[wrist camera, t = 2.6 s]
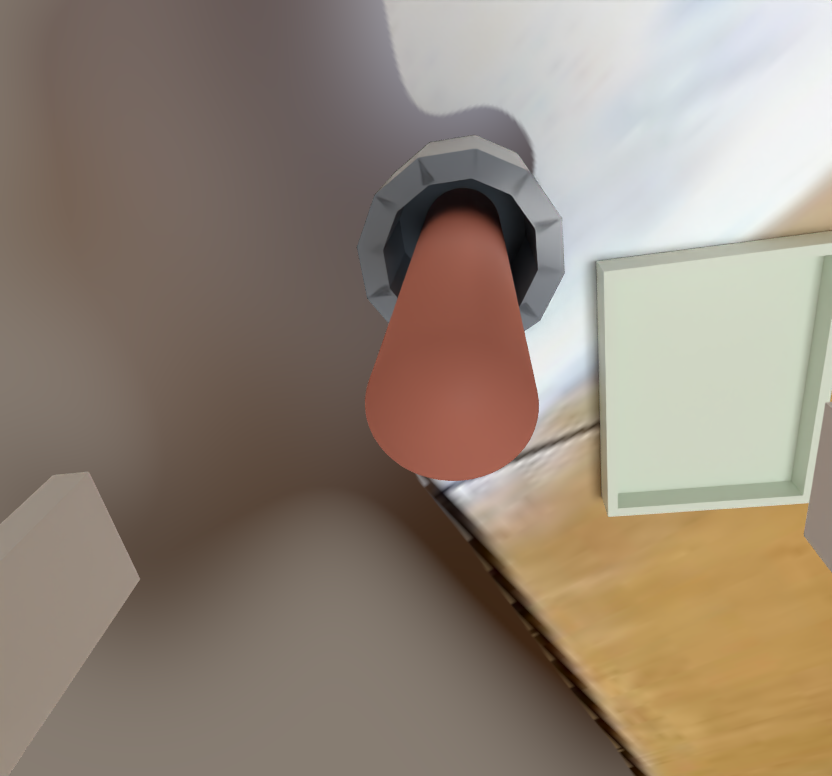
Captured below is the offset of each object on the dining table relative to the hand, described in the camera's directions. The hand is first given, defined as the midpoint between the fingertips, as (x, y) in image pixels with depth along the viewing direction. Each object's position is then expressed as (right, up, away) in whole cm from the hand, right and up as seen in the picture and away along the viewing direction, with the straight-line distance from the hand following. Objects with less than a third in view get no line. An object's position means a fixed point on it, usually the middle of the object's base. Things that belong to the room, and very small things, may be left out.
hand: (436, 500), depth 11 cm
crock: (+2, +11, +21) cm, 24 cm away
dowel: (+2, +11, +21) cm, 23 cm away
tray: (+17, +3, +24) cm, 29 cm away
